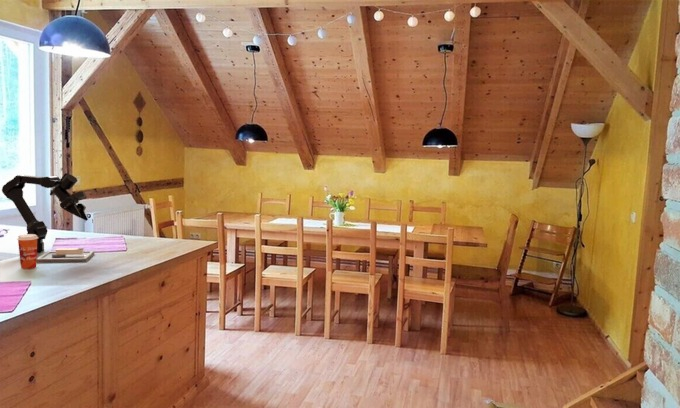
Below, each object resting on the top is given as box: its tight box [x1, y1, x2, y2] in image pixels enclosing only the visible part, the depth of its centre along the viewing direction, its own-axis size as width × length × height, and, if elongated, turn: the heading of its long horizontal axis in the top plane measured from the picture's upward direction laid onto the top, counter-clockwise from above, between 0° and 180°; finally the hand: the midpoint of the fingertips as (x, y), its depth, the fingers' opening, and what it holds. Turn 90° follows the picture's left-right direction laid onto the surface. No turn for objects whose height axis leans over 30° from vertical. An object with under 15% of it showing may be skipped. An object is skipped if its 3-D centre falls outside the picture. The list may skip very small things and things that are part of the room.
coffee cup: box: [16, 233, 38, 270], centre depth 232 cm, size 8×8×15 cm
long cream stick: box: [52, 247, 85, 257], centre depth 251 cm, size 14×6×4 cm, turn 103°
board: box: [36, 250, 95, 264], centre depth 252 cm, size 22×17×2 cm
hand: (83, 218), depth 255 cm, fingers open, 9 cm apart
